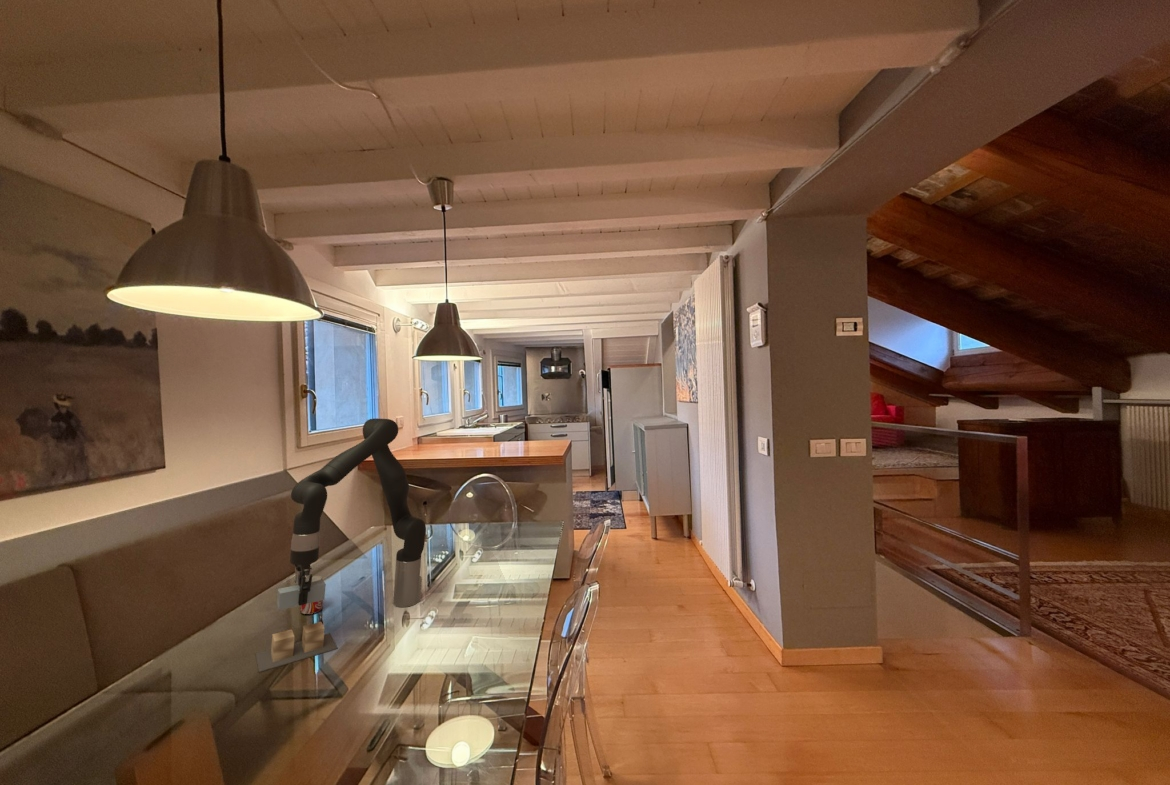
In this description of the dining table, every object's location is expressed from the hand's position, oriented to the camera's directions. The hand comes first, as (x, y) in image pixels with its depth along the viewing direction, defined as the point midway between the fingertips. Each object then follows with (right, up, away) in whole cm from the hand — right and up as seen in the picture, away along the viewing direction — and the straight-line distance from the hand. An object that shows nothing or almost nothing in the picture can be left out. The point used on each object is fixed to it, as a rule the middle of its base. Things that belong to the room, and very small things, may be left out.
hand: (301, 601), depth 134 cm
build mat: (-1, -15, -1) cm, 15 cm away
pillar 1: (-4, -15, -3) cm, 16 cm away
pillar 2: (+2, -15, +2) cm, 16 cm away
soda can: (-12, -16, +24) cm, 31 cm away
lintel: (0, 0, 0) cm, 0 cm away
